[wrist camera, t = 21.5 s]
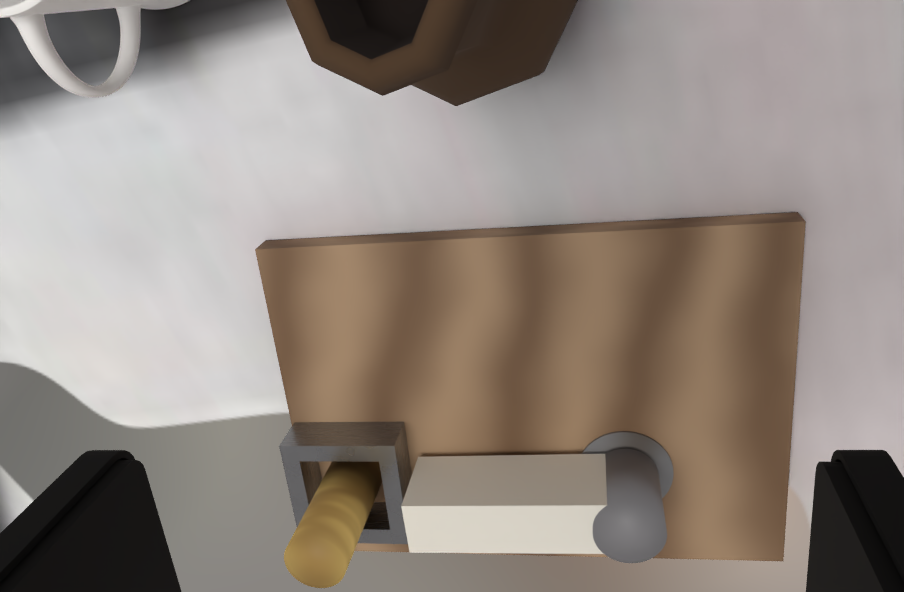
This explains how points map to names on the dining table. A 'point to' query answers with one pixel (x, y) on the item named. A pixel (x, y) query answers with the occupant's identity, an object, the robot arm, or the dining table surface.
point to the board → (564, 353)
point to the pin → (333, 523)
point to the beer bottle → (433, 42)
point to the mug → (30, 4)
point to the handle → (537, 505)
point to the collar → (351, 444)
